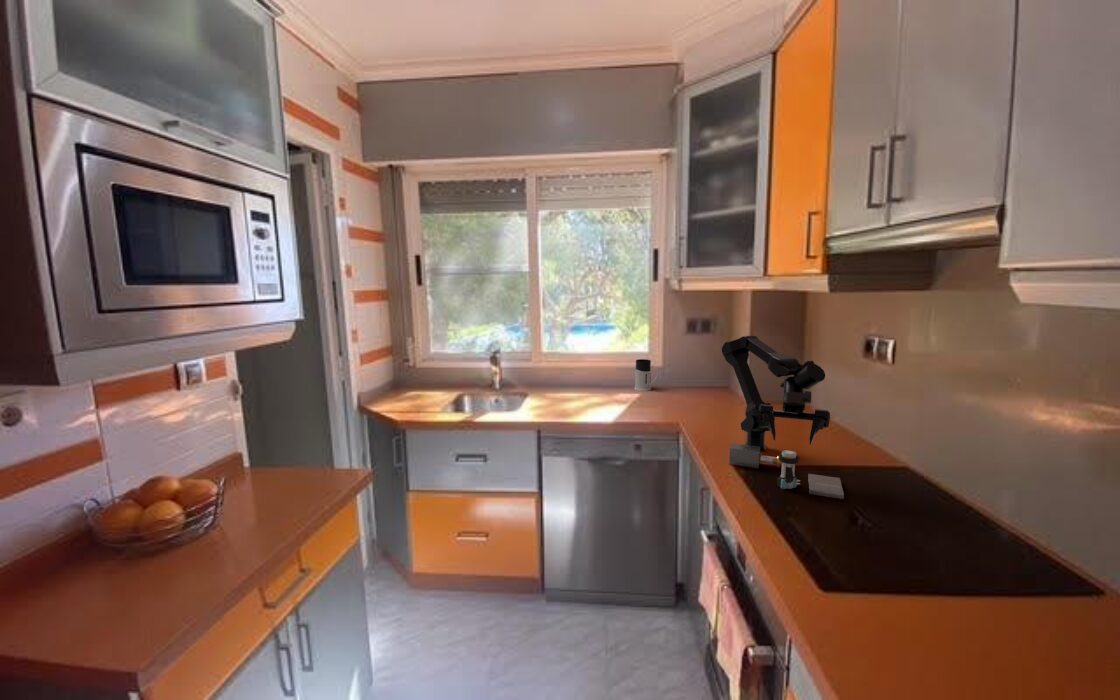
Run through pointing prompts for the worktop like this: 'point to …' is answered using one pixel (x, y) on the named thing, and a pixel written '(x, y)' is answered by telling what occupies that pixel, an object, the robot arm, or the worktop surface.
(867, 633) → the worktop surface
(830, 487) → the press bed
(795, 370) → the robot arm
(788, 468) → the push button
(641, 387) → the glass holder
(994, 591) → the worktop surface
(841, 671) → the worktop surface
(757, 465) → the block
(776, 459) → the press pin
